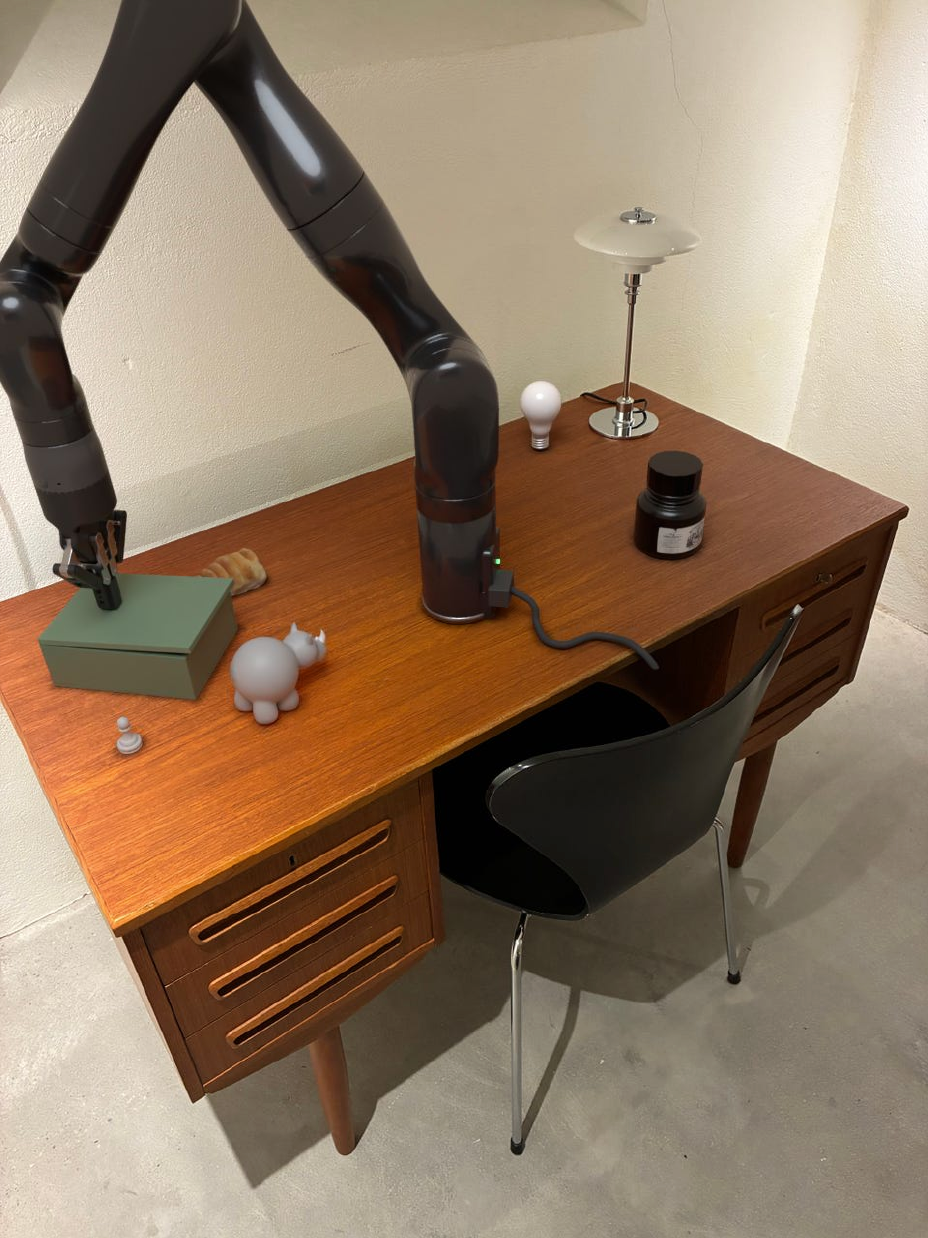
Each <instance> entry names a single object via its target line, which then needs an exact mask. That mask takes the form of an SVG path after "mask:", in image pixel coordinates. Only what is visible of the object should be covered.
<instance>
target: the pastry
mask: <svg viewBox="0 0 928 1238" xmlns="http://www.w3.org/2000/svg"><path fill="white" fill-rule="evenodd" d="M194 577H214V578H233V579H234V583H235V584H234V586H233V587H232V589H231V590H230V593H231V597H234V596H238V595H242V594H244V593H247V592H248V591H250V590H256V589H258V588H260V587H261V586H262V585H263V584H264V583H265V582H266V580H267V574H266V570H265V568H264V567H263V565H262V564H261V562H260V559H259V558H258V556H257V555H256V554H255V552H254V551H253V550H252V549H251V548H245V547H242V548H241V549H239V550H238V551H235V552H232V553H228V554H225V555H220V556H218V557H217V558H216V559H214V561H213V562H212V563H210V564H209V565H208V566H207V567H204V568H202V569H201V570H200V571H199V572H198V573H197V574H195V576H194Z"/></svg>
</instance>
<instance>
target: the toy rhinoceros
mask: <svg viewBox="0 0 928 1238" xmlns="http://www.w3.org/2000/svg"><path fill="white" fill-rule="evenodd" d="M325 642H326V634H325V632H324V631H323V630H322V629H320V633H319V636H315V637H313V634H312V633H308V632H306V631H305V630H299V629H298V627H297V623H296V622H292V623H291V625H290V631H289V633H288V635H287V634H286V636H285V637H284V639H283V641H282V640H279V639H278V638H275V637H271V636H259V637H258V636H257V637H255V638H252V639H250V640H248V641H246V642H244V643H243V644H242V645H240V647H239V648H238V649H237V650H236V651H235V653H234V654H233V656H232V659H231V662H230V668H229V673H230V679H231V683H232V685H233V687H234V689H235V692H234V695H233V703H234V706H235V708H236V709H237V710H238V711H241V712H251V711H252V712H253V716H254V719H255V721H256V722H257V723H258V724H259V725H268V724H273V723H274V722H275V721H276V720H277V719H278V717H279V711H284V712H287V711H293V710H294V709H296V708H297V707H298V705H299V703H300V702H299V701H300V696H299V693H298V691H297V689H296V688H295V686H296V685H297V683H298V678H299V674H300V673H299V671H300V670H304V669H307V668H310V667H311V666H313V665H314V664H316V663H320V662H321V661H322V660H324V658H325V656H326V653H327V646H326V645H325Z"/></svg>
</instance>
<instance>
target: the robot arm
mask: <svg viewBox="0 0 928 1238" xmlns="http://www.w3.org/2000/svg"><path fill="white" fill-rule="evenodd" d="M114 21H115V22H114V25H113V28H112V32H111V35H110V39H109V41H108V45H107V47H106V49H105V52H104V55H103V57H102V61H101V63H100V65H99V68H98V70H97V72H96V74H95V77H94V79H93V82H92V84H91V86H90V88H89V89H88V91H87V94H86V96H85V98H84V99H83V101H82V103H81V106H79V108H78V111H77V112H76V114H75V115H74V118H73V119H72V121H71V123H70V124H69V126H68V128H67V130H66V131H65V133H64V134H63V136H62V138H61V140H60V142H59V143H58V145H57V147H56V148H55V150H54V152H53V153H52V156H51V157H50V159H49V161H48V163H47V165H46V167H45V169H44V171H43V172H42V175H41V177H40V179H39V181H38V183H37V185H36V187H35V189H34V191H33V193H32V196H31V197H30V199H29V201H28V204H27V206H26V208H25V211H24V213H23V215H22V218H21V221H20V223H19V227H18V230H17V233H16V234H15V236H14V237H13V239H12V241H10V244H9V246H8V247H7V249H6V250H5V252H4V254H3V255H2V257H1V259H0V385H1V387H2V389H3V391H4V392H5V394H6V395H7V398H8V401H9V406H10V409H11V412H12V415H13V419H14V422H15V425H16V428H17V431H18V434H19V437H20V439H21V440H20V441H21V443H22V449H23V454H24V460H25V462H26V466H27V469H28V472H29V475H30V478H31V481H32V485H33V488H34V490H35V493H36V496H37V499H38V502H39V505H40V508H41V511H42V514H43V517H44V518H45V519H46V521H47V522H48V523H50V524H51V525H52V526H54V527H55V528H56V530H58V537H59V538H58V541H59V542H58V543H59V546H60V548H61V550H62V551H63V553H62V557H61V558H62V559H61V562H59V563H58V562H55V563H54V564H53V565H52V568H51V569H52V570H51V571H52V573H53V575H55V576H56V577H58V578H60V579H62V580H64V581H65V582H67V583H69V584H70V585H71V586H72V585H73V586H74V587H76V588H77V589H80V588H88V589H92V590H93V593H94V596H95V599H96V603H97V606H98V607H99V608H101V609H103V610H116V609H117V608H118V606H119V605H120V604H121V602H122V598H121V595H120V589H119V586H118V583H117V579H116V575H117V573H119V569H118V564H122V563H123V561H124V555H125V543H126V533H127V521H128V513H127V511H126V510H123V509H116V507H117V504H118V498H117V495H116V494H117V493H116V491H115V490H116V489H115V488H114V484H113V480H112V476H111V473H110V470H109V465H108V462H107V459H106V456H105V452H104V448H103V445H102V442H101V440H100V437H99V435H98V433H97V431H96V428H95V425H94V422H93V419H92V416H91V415H92V414H91V412H90V409H89V405H88V401H87V397H86V394H85V391H84V389H83V387H82V384H81V382H80V380H79V378H78V377H77V376H76V375H75V374H74V373H73V371H72V367H71V364H70V360H69V356H68V353H67V349H66V346H65V341H64V336H63V331H62V326H63V319H64V317H65V314H66V313H67V309H68V307H69V305H70V303H71V301H72V299H73V298H74V297H73V296H74V295H75V293H76V291H77V289H78V287H79V284H80V282H81V281H82V279H83V277H84V275H86V274H88V273H89V272H90V271H92V269H93V268H94V266H95V265H96V263H97V262H98V260H99V258H100V257H101V255H102V254H103V251H104V250H105V248H106V246H107V244H108V243H109V240H110V238H111V237H112V235H113V233H114V231H115V229H116V227H117V226H118V223H119V221H120V219H121V217H122V215H123V213H124V211H125V209H126V207H127V205H128V203H129V202H130V199H131V196H132V194H133V192H134V190H135V188H136V186H137V183H138V181H139V179H140V176H141V174H142V172H143V170H144V168H145V165H146V164H147V162H148V159H149V157H150V155H151V152H152V150H153V149H154V146H155V144H156V143H157V141H158V139H159V137H160V135H161V133H162V132H163V130H164V129H165V128H164V127H165V126H166V124H167V122H168V121H169V119H170V118H171V117H172V114H173V113H174V111H175V109H176V108H177V106H178V105H179V104H180V102H181V100H182V99H183V97H184V96H185V94H186V93H187V92H188V91H189V89H190V88H191V86H192V85H195V86H196V87H197V89H198V90H199V91H200V93H202V95H203V96H204V97H205V98H206V99H207V101H208V102H209V103H210V105H211V106H212V108H213V109H214V110H215V112H216V113H217V114H218V115H219V117H220V118H221V120H222V122H223V123H224V124H225V126H226V127H227V129H228V131H229V133H230V135H231V136H232V138H233V140H234V141H235V143H236V146H237V147H238V149H239V151H240V153H241V155H242V156H243V159H244V160H245V162H246V164H247V167H248V168H249V170H250V172H251V174H252V176H253V178H254V179H255V181H256V183H257V185H258V186H259V188H260V190H261V192H262V193H263V195H264V197H265V199H266V201H267V202H268V203H269V206H270V207H271V209H272V210H273V212H274V213H275V215H276V216H277V218H278V219H279V222H281V224H282V225H283V227H284V228H285V229H286V232H287V233H288V234H289V236H290V237H291V238H292V240H293V241H294V242H295V244H296V245H297V246H298V249H300V251H301V252H302V253H303V255H304V256H305V257H306V258H307V260H308V261H309V263H310V264H311V265H312V266H313V267H314V269H315V270H316V271H317V273H319V274H320V276H321V277H322V278H323V279H324V280H325V281H326V282H327V283H328V284H329V285H330V286H331V287H332V288H334V290H336V292H338V293H339V294H340V295H341V297H343V298H344V299H345V300H346V301H347V302H349V303H350V304H351V305H352V306H353V307H354V308H355V309H356V310H357V311H359V312H360V313H361V314H362V315H363V316H364V317H365V319H366V320H367V321H368V322H369V323H370V324H371V326H372V327H373V329H374V330H375V331H376V333H377V335H378V336H379V337H380V339H381V340H382V342H383V344H384V345H385V347H386V349H387V351H388V352H389V354H390V355H391V357H392V359H393V360H394V362H395V364H396V366H397V368H398V370H399V372H400V374H401V376H402V378H403V380H404V382H405V383H404V384H405V385H406V390H407V393H408V396H409V401H410V405H411V417H412V418H411V419H412V431H413V446H414V462H413V476H414V490H415V503H416V518H417V531H418V532H417V533H418V546H419V558H420V559H419V561H420V572H421V574H420V575H421V586H422V587H421V590H422V591H421V593H422V596H421V597H422V606H423V607H422V608H423V609H424V611H425V612H426V613H427V614H428V616H430V617H431V618H433V619H435V620H437V621H439V622H442V623H447V624H454V625H464V624H465V625H466V624H471V623H476V622H479V621H481V620H485V619H486V620H487V619H488V620H494V617H495V614H496V610H497V608H510V605H511V601H512V597H513V596H515V597H516V598H518V599H520V600H521V601H523V602H524V603H526V605H528V606H529V608H530V610H531V621H532V625H533V627H534V629H535V632H536V635H537V636H538V638H539V640H540V641H541V642H542V643H543V644H545V645H546V646H549V647H552V648H555V649H570V648H574V647H577V646H578V645H580V644H583V643H585V642H589V641H592V640H601V641H609V642H613V643H618V644H621V645H623V646H626V647H628V648H629V649H631V650H632V651H634V652H635V653H636V654H637V655H639V657H640V658H642V660H643V661H644V662H645V663H646V664H647V665H648V667H649V668H650V669H652V670H658V669H660V666H659V664H658V662H657V661H656V660H655V659H654V657H653V656H652V655H651V654H650V653H649V652H648V651H647V650H646V649H645V648H643V646H641V644H639V643H637V642H636V641H634V640H632V639H631V638H629V637H627V636H623V635H620V634H615V633H610V632H603V631H590V632H586V633H583V634H580V635H578V636H576V637H573V638H571V639H567V640H557V639H554V638H551V637H549V636H548V635H547V634H546V632H545V630H544V628H543V625H542V622H541V620H540V607H539V605H538V603H537V602H536V600H535V599H534V598H532V597H531V595H529V594H528V593H526V592H524V591H523V590H521V589H519V588H517V587H516V586H515V571H514V570H511V569H510V570H509V569H501V539H500V538H501V534H500V532H501V530H500V528H499V526H497V498H496V497H497V494H496V493H497V491H496V490H497V489H496V488H497V487H496V470H497V469H496V468H497V466H498V462H499V452H500V450H499V448H500V447H499V445H500V400H499V389H498V384H497V381H496V378H495V376H494V373H493V371H492V369H491V367H490V364H489V362H488V361H487V358H486V356H485V354H484V353H483V351H482V349H481V348H480V347H479V346H478V344H477V343H476V342H475V341H474V340H473V338H472V337H471V336H470V335H469V334H468V332H467V331H466V330H465V329H464V328H463V326H462V325H461V324H460V323H459V322H458V321H457V319H456V318H455V317H454V316H453V315H452V313H451V312H450V311H449V310H448V309H447V307H446V306H445V304H444V303H443V302H442V300H440V298H439V297H438V296H437V294H436V292H434V290H433V289H432V287H431V286H430V284H429V282H428V281H427V280H426V278H425V276H424V274H423V272H422V270H421V268H420V267H419V264H418V262H417V260H416V258H415V256H414V253H413V252H412V250H411V248H410V246H409V244H408V242H407V240H406V237H405V236H404V234H403V232H402V230H401V228H400V227H399V225H398V223H397V221H396V220H395V218H394V216H393V214H392V213H391V210H390V209H389V208H388V206H387V204H386V202H385V200H384V199H383V198H382V196H381V194H380V193H379V192H378V190H377V188H376V186H375V185H374V184H373V182H372V180H371V179H370V177H369V176H368V174H367V173H366V172H365V170H364V168H363V166H362V165H361V163H359V161H358V159H357V157H355V156H354V154H353V152H352V151H351V149H350V148H349V147H348V145H346V143H345V141H344V140H343V139H342V138H341V137H340V136H339V134H338V133H337V131H336V130H335V129H334V128H333V126H332V125H331V124H330V123H329V121H328V120H327V119H326V118H325V116H324V115H323V114H322V113H321V112H320V110H319V109H318V107H316V106H315V104H313V102H312V101H311V100H310V98H309V97H308V96H307V95H306V94H305V93H304V92H303V90H302V89H301V88H300V87H299V86H298V84H297V83H296V82H295V80H294V79H293V78H292V76H290V74H289V72H288V71H287V69H286V68H285V67H284V65H283V64H282V62H281V61H280V59H279V57H278V55H277V54H276V52H275V50H274V48H273V47H272V45H271V43H270V42H269V40H268V38H267V36H266V35H265V32H264V31H263V29H262V27H261V25H260V23H259V22H258V20H257V18H256V17H255V14H254V12H253V10H252V9H251V7H250V5H249V3H248V1H247V0H120V4H119V8H118V10H117V14H116V18H115V20H114Z"/></svg>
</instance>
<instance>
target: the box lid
mask: <svg viewBox="0 0 928 1238" xmlns="http://www.w3.org/2000/svg"><path fill="white" fill-rule="evenodd" d="M116 579H117V583H118V586H119V589H120V595H121V598H122V602H121V604H120V605H119V606H118V608H117V609H116V610H103V609H101V608H99V607H98V606H97V603H96V599H95V596H94V593H93V590H92V589H88V588H78V590H77V591H76V592H75V594H74V595H73V596H72V597H71V598H70V600H69V601H68V602H67V603H66V604H65V605H64V607H63V608H62V609H61V610H60V611H59V612H58V613H57V615H56V616H55V617H54V618H53V620H52V621H51V622H50V623H49V624H48V625H47V626H46V628H45V629H44V631H43V632H42V633H41V634H40V635H39V636H38V637H37V642H38V644H39V646H40V645H55V646H72V647H89V648H106V649H123V650H140V651H157V652H174V653H191V652H192V651H193V649H194V647H195V646H196V644H197V643H198V641H199V639H200V638H201V636H202V635H203V633H204V632H205V630H206V628H207V627H208V625H209V624H210V622H211V620H212V619H213V617H214V616H215V614H216V613H217V611H218V609H219V608H220V606H221V605H222V603H223V601H224V600H225V598H226V597H227V595H228V593H229V592H230V590H231V589H232V587H233V586H234V584H235V583H234V579H233V578H214V577H195V576H191V575H190V576H188V575H167V574H166V575H164V574H142V573H119V572H118V573H117V575H116Z"/></svg>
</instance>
